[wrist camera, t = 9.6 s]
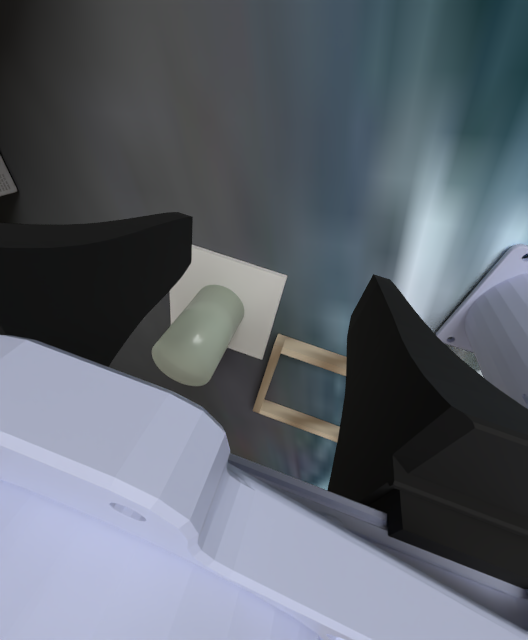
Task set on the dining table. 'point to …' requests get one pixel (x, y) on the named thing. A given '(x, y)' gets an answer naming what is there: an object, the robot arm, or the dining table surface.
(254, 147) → the dining table surface
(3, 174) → the coffee box
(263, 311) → the mat
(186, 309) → the pale green capsule
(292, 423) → the holder
